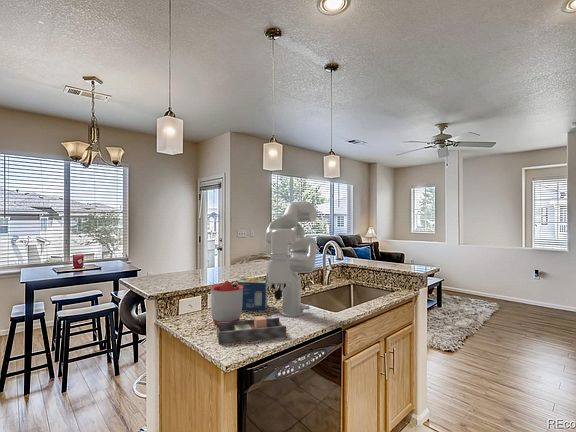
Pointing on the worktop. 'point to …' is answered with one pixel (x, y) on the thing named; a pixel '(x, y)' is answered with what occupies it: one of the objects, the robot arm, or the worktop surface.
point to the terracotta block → (260, 322)
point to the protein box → (254, 294)
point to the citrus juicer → (226, 302)
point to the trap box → (249, 331)
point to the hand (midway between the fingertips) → (278, 299)
